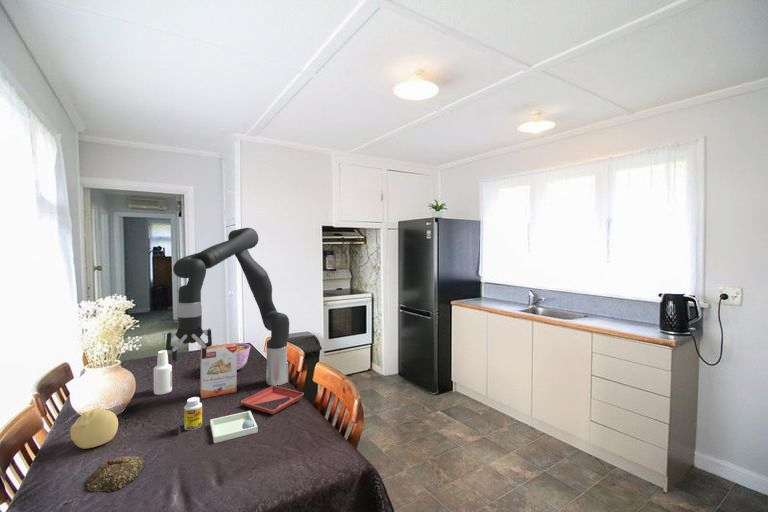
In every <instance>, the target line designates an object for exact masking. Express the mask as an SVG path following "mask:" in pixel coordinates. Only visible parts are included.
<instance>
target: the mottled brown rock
mask: <svg viewBox="0 0 768 512" xmlns="http://www.w3.org/2000/svg"><path fill="white" fill-rule="evenodd" d="M146 463H147V462H146V461H145V460H144V459H143V458H141V457H140V456H136V455H125V456H120V457H119V456H118V457H115V458H112V459H109V460H107V461H106V462H104V463H102V464H101V465H100V466H99V467H97V469H95V470H94V472H92V473H91V475H90V476H88V478H87V479H86V481H85V484H86V486H87V487H86V489H87V490H88V491H90V492H94V491H98V492H106V491H107V493H111V492H110V491H112V492H115V490H117V491H119V490H121V489H123V488H124V487H125V486H127V485H128V484H130V483H131V482H132V481H135V479H136V478H137V477H138V476H139V475H140V474H141V472H142V470H143V469H144V468H145V466H146ZM122 487H123V488H122ZM118 489H119V490H118ZM113 490H114V491H113ZM108 491H109V492H108Z"/></svg>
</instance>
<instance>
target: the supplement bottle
mask: <svg viewBox="0 0 768 512" xmlns="http://www.w3.org/2000/svg"><path fill="white" fill-rule="evenodd" d="M200 399H201V397H199V396H193V397H190V398H188V399H187V400H186V404H185V405H184V407H183V408H184V410H183V412H184V414H183V416H184V418H183V419H184V421H183V422H184V423H183V424H184V425H183V426H184V430H186V431H192V430H197V429H199V428H200V427H202V425H203V403H202V402H200Z"/></svg>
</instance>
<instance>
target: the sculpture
mask: <svg viewBox="0 0 768 512" xmlns="http://www.w3.org/2000/svg"><path fill="white" fill-rule="evenodd" d="M118 428H119V419H118V417H117V415H116V414H115V413H114V412H113V411H111V410H107V409H101V408H100V407H98V408H94V409H92V410H89V411H84V413H83V414H82V415H80V416H79V417H78V418H77V419H76V420H75V422H74V423H73V424H72V425H71V427H70V429H69V433H70V439H71V441H73V444H74V445H75V446H77V447H78V448H80V449H83V450H84V449H85V450H86V449H91V448H95V447H98V446H99V447H100V446H102V445H104V444H107V443H108V442H110V441H111V440H113V438H114V437H115V435H116V434H117V432H118Z"/></svg>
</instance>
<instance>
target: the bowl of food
mask: <svg viewBox="0 0 768 512" xmlns="http://www.w3.org/2000/svg"><path fill="white" fill-rule="evenodd" d="M231 343H232V342H230V343H228V344H231ZM234 343H235V345H236V346H237V370H238V371H239V370H241V369H242V368H243V367H244V366H245V365H246V364H247V362H248V358H249V355H250V350H251V345H250V344H248V343H243V342H234ZM223 344H224V343H223ZM223 344H221V345H223Z"/></svg>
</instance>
